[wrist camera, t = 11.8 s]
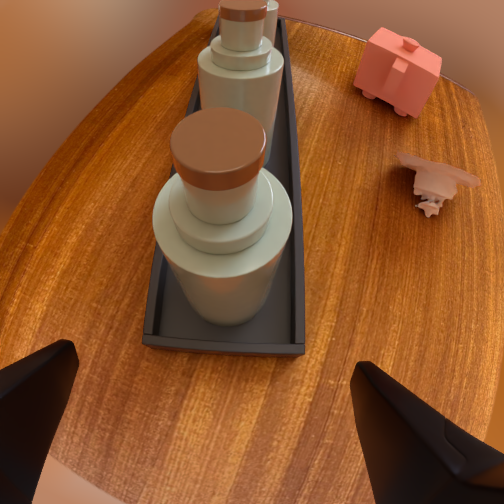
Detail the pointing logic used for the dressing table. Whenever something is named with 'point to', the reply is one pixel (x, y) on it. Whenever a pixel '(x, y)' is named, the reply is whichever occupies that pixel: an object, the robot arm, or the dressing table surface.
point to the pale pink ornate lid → (435, 181)
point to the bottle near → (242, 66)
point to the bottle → (222, 215)
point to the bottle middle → (267, 21)
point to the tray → (286, 278)
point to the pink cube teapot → (398, 72)
